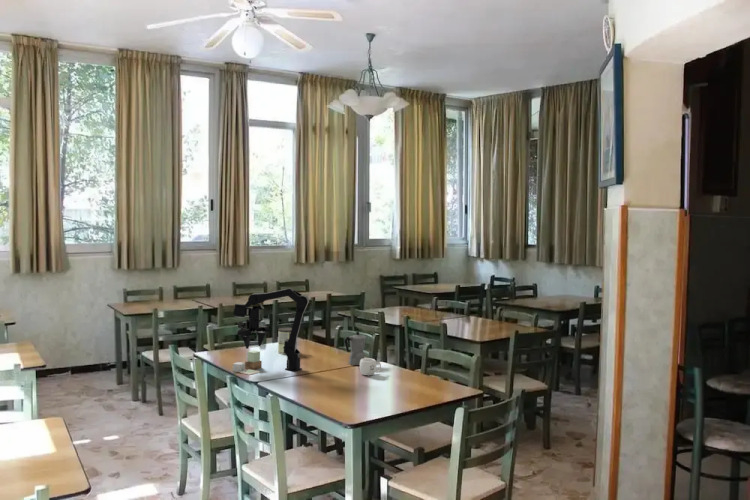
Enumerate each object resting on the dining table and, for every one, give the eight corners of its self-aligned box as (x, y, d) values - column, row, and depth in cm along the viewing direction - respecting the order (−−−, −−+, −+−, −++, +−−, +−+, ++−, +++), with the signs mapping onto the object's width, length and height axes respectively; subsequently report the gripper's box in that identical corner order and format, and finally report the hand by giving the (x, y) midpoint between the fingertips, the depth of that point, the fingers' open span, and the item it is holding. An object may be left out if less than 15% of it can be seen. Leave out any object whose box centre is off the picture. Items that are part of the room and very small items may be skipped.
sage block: (259, 361, 337) (260, 351, 336) (253, 362, 333) (254, 352, 333) (253, 359, 339) (253, 350, 339) (247, 361, 335) (247, 351, 335)
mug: (363, 377, 324) (364, 362, 324) (356, 373, 331) (356, 358, 331) (384, 375, 330) (385, 360, 329) (377, 371, 337) (377, 356, 337)
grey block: (245, 370, 331) (245, 363, 331) (240, 372, 327) (240, 364, 327) (237, 369, 333) (237, 362, 332) (232, 371, 328) (232, 363, 328)
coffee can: (280, 350, 383) (280, 326, 382) (297, 351, 382) (297, 327, 381) (275, 354, 373) (276, 329, 372) (293, 354, 372) (293, 330, 371)
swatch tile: (259, 372, 328) (259, 371, 328) (249, 374, 322) (249, 373, 322) (249, 370, 332) (249, 369, 332) (239, 372, 326) (239, 371, 326)
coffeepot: (361, 361, 361) (361, 329, 360) (371, 364, 354) (372, 331, 353) (338, 364, 351) (339, 331, 350) (349, 367, 344) (350, 334, 343)
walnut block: (261, 368, 337) (261, 360, 337) (254, 370, 332) (254, 363, 332) (252, 366, 340) (252, 359, 340) (245, 369, 335) (245, 361, 335)
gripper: (255, 314, 347) (254, 342, 348) (229, 317, 331) (229, 347, 332) (270, 316, 341) (269, 345, 342) (245, 320, 325) (245, 350, 326)
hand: (253, 347), depth 336 cm, fingers open, 9 cm apart
